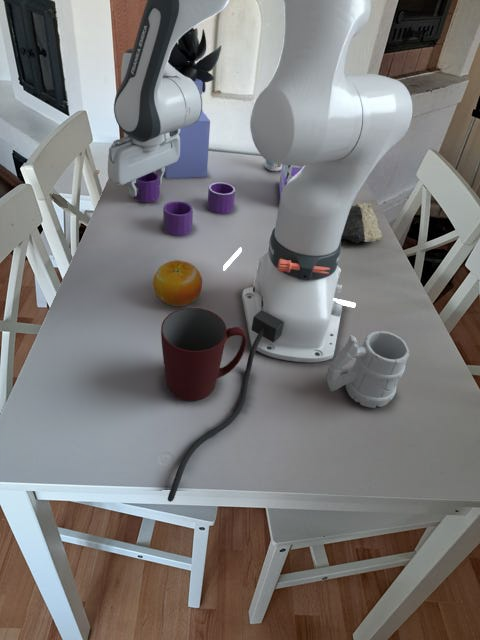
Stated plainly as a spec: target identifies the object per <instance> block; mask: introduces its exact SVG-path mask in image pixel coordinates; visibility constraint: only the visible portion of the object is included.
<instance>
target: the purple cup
mask: <svg viewBox="0 0 480 640" xmlns="http://www.w3.org/2000/svg"><path fill="white" fill-rule="evenodd" d="M155 172H156V171H154V172H152V173H149V174H147V175H145V176H142V177H140V178H137V179H136V183H134V184H135V186H136V187H138V188H139V193H140V194H139V195H137V196H135V197H134V196H132V198H133V199H134V200H136V201H137V202H141V203H153V202H156V201H158V200H159V199H160V193H161V192H160V191H161V190H160V186H161V185H160V184H159V175H158V174H157V173H155Z"/></svg>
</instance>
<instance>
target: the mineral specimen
mask: <svg viewBox="0 0 480 640" xmlns="http://www.w3.org/2000/svg"><path fill="white" fill-rule="evenodd" d="M379 223H380V222H379V219H378V217H377V215H376V213H375V210H374V208H373V205H372V203H370V202H368V203H365V202H363V203H356V204H355V205H352V206H351V209H350V212H349V215H348V218H347V221H346V224H345V227H344V230H343V233H342V237H341V240H347V241H351V242H352V243H360V242H366V243H374V242H376V241H379V240H381V239H382V238H383V231H382V230H381V229H380V224H379Z"/></svg>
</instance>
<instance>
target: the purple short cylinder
mask: <svg viewBox="0 0 480 640" xmlns="http://www.w3.org/2000/svg"><path fill="white" fill-rule="evenodd" d="M235 196H236V188H235V187H234V185H232V184H230V183H227V182H221V181H220V182H213V183H211V184H209V185H208V191H207V209H208V210H209V212H211V213H214V214H218V215H226V214H230V213H231V212H233V211H234V208H235V207H234V205H235V199H236V198H235Z"/></svg>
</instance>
